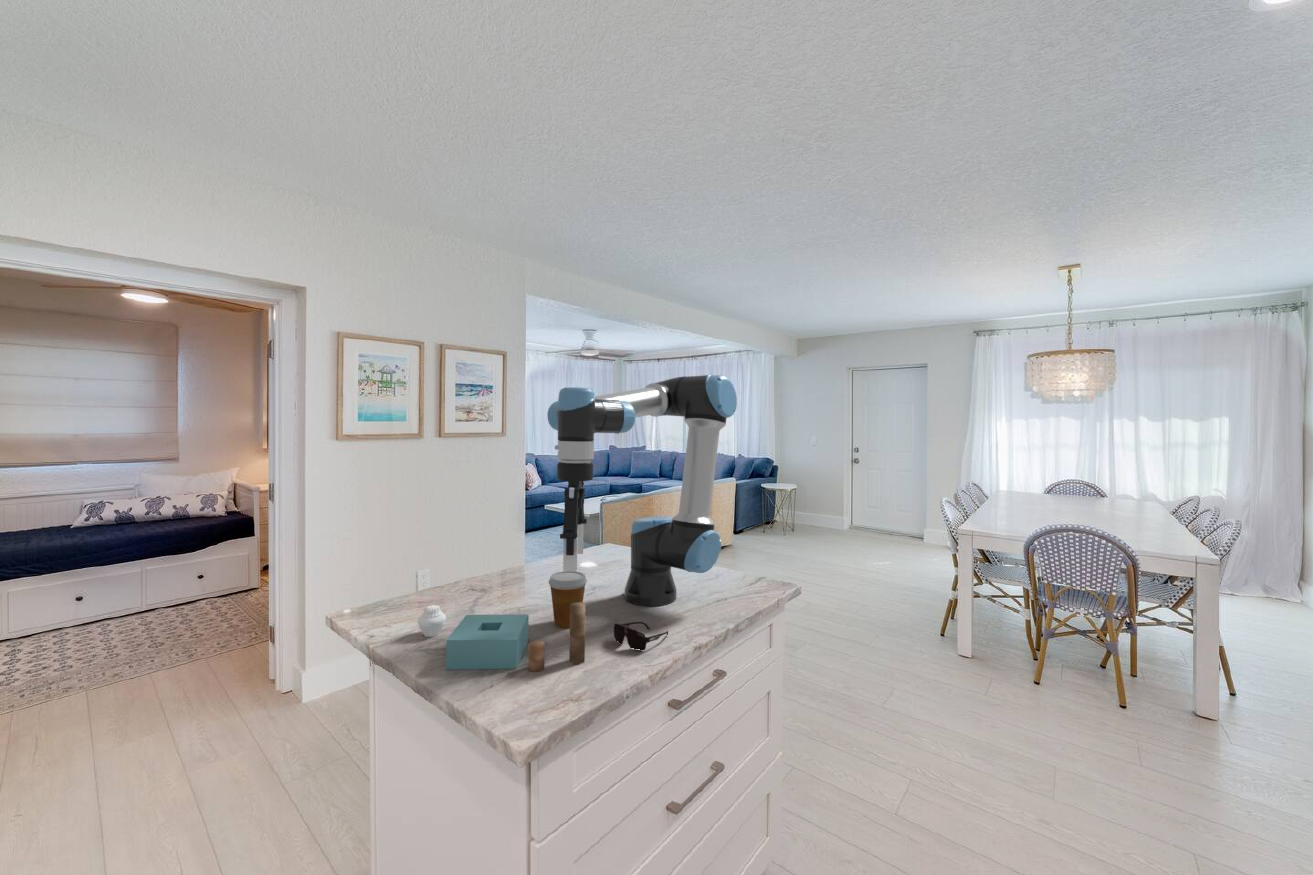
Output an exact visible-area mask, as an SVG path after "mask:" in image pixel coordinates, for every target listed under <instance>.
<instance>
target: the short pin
mask: <svg viewBox="0 0 1313 875" xmlns="http://www.w3.org/2000/svg"><path fill="white" fill-rule="evenodd" d="M545 644H546V643H545V642H544V641H541V640H537V641H536V640H535V641H530V642H529V643H528V657H527V658H528V660H527V661H528V664H527V665H528V671H529V672H532V673H538V672H542V671H543V670H545V658H546V656H545V649H546V648H545Z"/></svg>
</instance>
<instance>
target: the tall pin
mask: <svg viewBox="0 0 1313 875" xmlns="http://www.w3.org/2000/svg"><path fill="white" fill-rule="evenodd" d="M585 646H586V603H585V602H583V603H582V602H575V603H572V604H570V628H569V652H568V653H569V654H568V655H569V656H568V657H569V660H568V661H569V664H571V663H572V664H571V665H581V664H580V663H582V662H583V663H584V662H585V660H586V659H585V658H586V657H585V656H586V653H585V652H586V649H585V648H586V647H585ZM583 663H582V664H583Z"/></svg>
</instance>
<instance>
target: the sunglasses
mask: <svg viewBox="0 0 1313 875" xmlns="http://www.w3.org/2000/svg"><path fill="white" fill-rule="evenodd" d="M639 624H640V625H642V624H643V625H644V626H645V627H646V630H647V629H650V630H651V628H650V627H649V626H648V624H646V623H645V622H644V621H633V622H627V623H626V622H625V623H617V622H616V623H614V624H613V635H614V640H615V642H617V641H618V642H619V643H620V644H622V645H623V644H624V640H625V638H626V641H627V644H628V646H629V648H630V649H631V648H634V649H640V650H644V651H645V650H646V648H647V644H648V643H650V642H655V641H658V640H659V639H660V637H662V636H664V635H668V636H669V631H665V632H663V633H659V634H658V633H657V634H655V635H651V636H646V635H645V633H643V632H641V631H639V630H637V629H635V628H632V627H630V625H639ZM618 642H617V643H618ZM619 643H618V644H619Z"/></svg>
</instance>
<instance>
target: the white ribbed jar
mask: <svg viewBox="0 0 1313 875" xmlns="http://www.w3.org/2000/svg"><path fill="white" fill-rule="evenodd" d="M446 619H447V616H446V614H445V613H443V612H442V610H441V607H440V606H439V605H437V604H431V605H428V606H426V607H424V609H423V612H422V614H421V615H420V616H419V617H418V618H417V625H418V627H419V629H420V631H421V632H422V634H423V636H424V637H426V638H427V637H428V638H433V637H436V636H439V634H440V632H442V629H443V627H444V626H445V622H446V621H447V620H446Z"/></svg>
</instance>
